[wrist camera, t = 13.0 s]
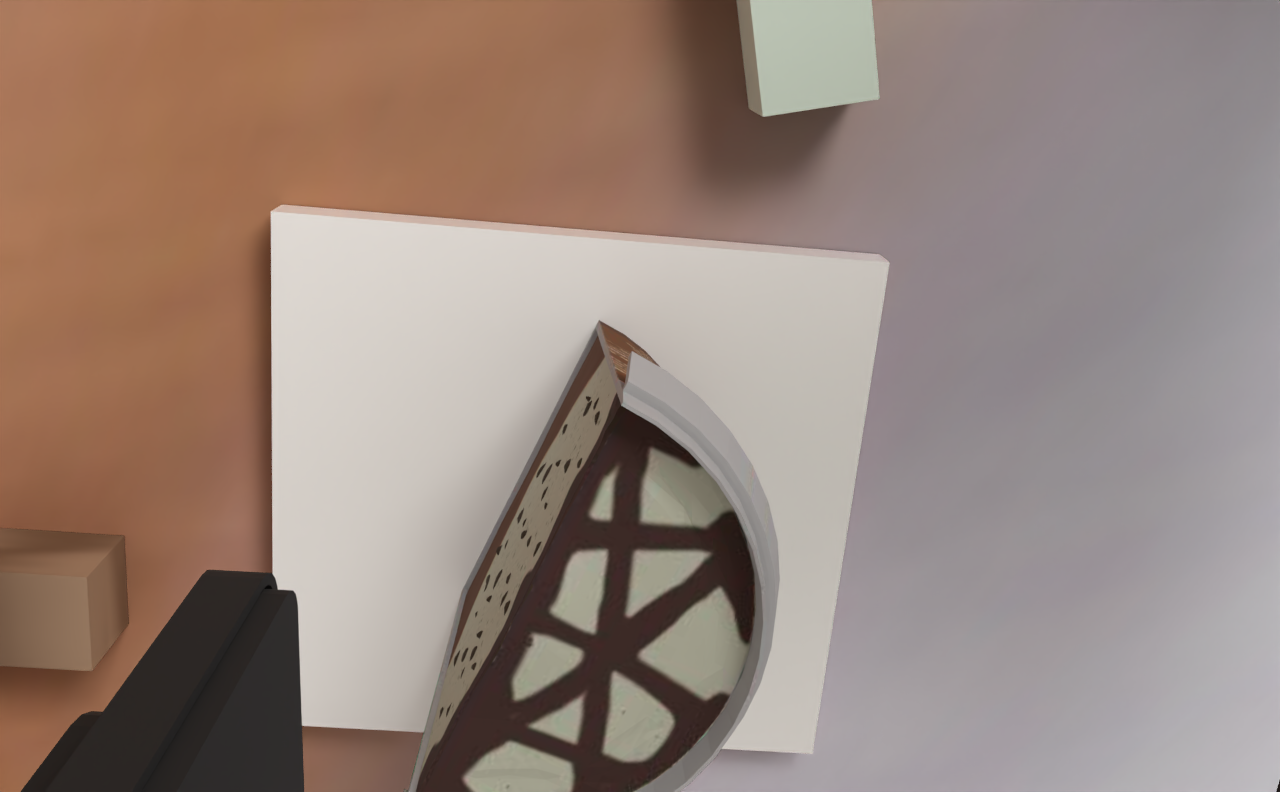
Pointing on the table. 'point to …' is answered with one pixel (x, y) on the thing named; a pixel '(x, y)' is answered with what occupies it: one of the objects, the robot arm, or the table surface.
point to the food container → (610, 598)
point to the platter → (535, 424)
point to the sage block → (807, 54)
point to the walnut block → (60, 598)
